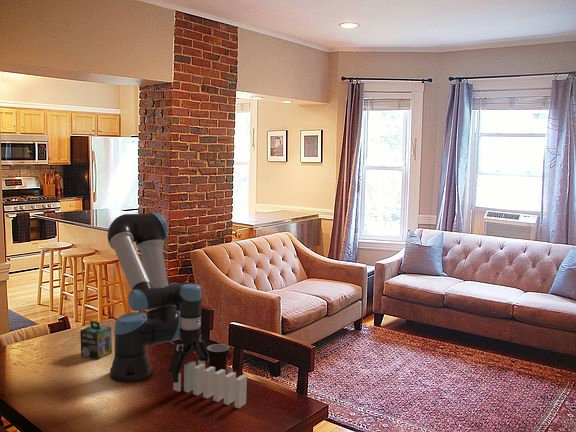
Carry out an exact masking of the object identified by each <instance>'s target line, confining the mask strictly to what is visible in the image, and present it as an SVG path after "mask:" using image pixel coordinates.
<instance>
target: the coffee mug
mask: <svg viewBox="0 0 576 432" xmlns="http://www.w3.org/2000/svg"><path fill="white" fill-rule="evenodd" d="M207 349H208V352H209V357H207V358H208V361H207V362H208V368H209V367H211V366H212V367H215V372H217V371H219V370H221V369H223V370H226V371H227V366H228V357H229V352H230V347H229V346H228V345H227V344H223V343H215V344H210V345H208V346H207Z"/></svg>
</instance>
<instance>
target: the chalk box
mask: <svg viewBox="0 0 576 432" xmlns="http://www.w3.org/2000/svg"><path fill="white" fill-rule="evenodd" d="M89 323H90V326H88V327H87V326H86V327H85V328H83V329H81V330H80V356H81V357H84V358H88V359H93V360H97V361H98V360H100V359H101V358H103V357H105V356H107V355H109V354H111V353H113V344H112V343H113V342H112V339H113V337H112V327H111V326H109V325H108V326H107V325H101V324H100V322H99V321H93V320H90V321H89Z"/></svg>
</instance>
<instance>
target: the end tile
mask: <svg viewBox="0 0 576 432" xmlns="http://www.w3.org/2000/svg"><path fill="white" fill-rule="evenodd" d="M183 365H184V366H183V374H184V375H183V377H184V378H183V392H185V393H190V392H193V376H194V367H196V366H197V362H196V361H193V360H192V361H189V362H187V363H186V364H183Z"/></svg>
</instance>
